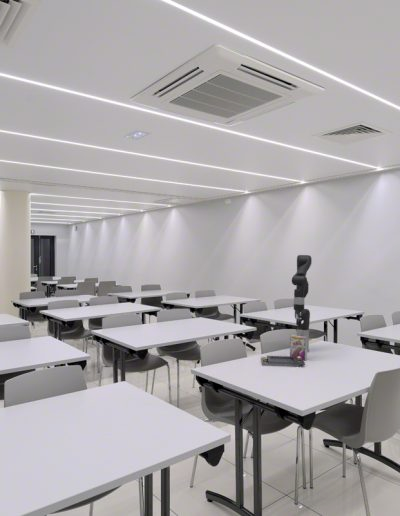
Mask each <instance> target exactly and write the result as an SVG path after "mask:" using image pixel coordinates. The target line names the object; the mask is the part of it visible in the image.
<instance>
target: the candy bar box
mask: <svg viewBox="0 0 400 516" xmlns="http://www.w3.org/2000/svg"><path fill="white" fill-rule="evenodd" d="M289 337H290V339H289V340H290V341H289V344H290V345H289V346H290V347H289V356H293V357H297V356H301V358H302V359H303V361H304V362H305V361H306V360H307V359H308V352H307V337H303V336H297V335H294V334H293V335H290V336H289Z"/></svg>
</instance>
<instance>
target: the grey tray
mask: <svg viewBox="0 0 400 516" xmlns="http://www.w3.org/2000/svg"><path fill="white" fill-rule="evenodd" d="M260 361H261V365H262V367H263V366H267V367H270V366H271V367H289V368H290V367H292V368H293V367H294V368H299V366H303V365H304V366H305V361H303V359H302V358H301V356H297V357H293V356H290V355H289V356H288V355H287V356H286V355H284V356H283V355H266V356H263V357H260Z"/></svg>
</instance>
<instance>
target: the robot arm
mask: <svg viewBox="0 0 400 516" xmlns="http://www.w3.org/2000/svg"><path fill="white" fill-rule="evenodd" d="M311 266H312V256H311V255H308V254H298V255H297V257H296V273H295V274H294V275H293V276H292V277H291V284H292V285H294V286H295V287H296V288H295V289H294V290H293V291H294V293H293V311H294V318H295V321H296V323H295V325H296V336H303V337H307V353H309V352H308V351H309V349H310V348H309V346H310V344H309V343H310V342H309V341H310V318H311V312H310V310H309V309H308V308H305V298H306V297H307V296H308V293H309V286H310V284H309V281H308V278H307V277H306V276H307V274H308V271H309V269H310V268H311Z"/></svg>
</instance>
